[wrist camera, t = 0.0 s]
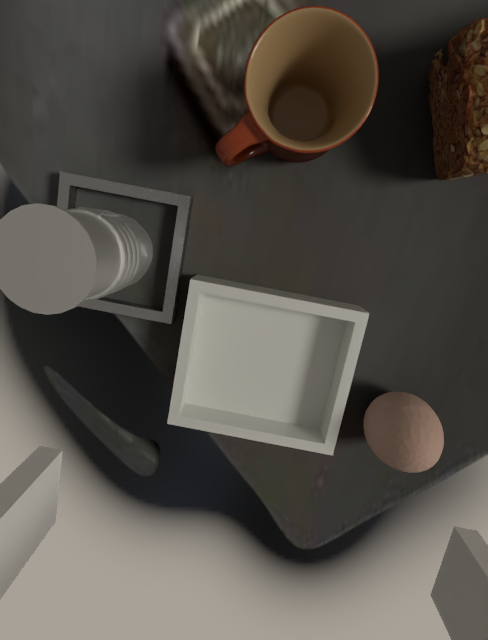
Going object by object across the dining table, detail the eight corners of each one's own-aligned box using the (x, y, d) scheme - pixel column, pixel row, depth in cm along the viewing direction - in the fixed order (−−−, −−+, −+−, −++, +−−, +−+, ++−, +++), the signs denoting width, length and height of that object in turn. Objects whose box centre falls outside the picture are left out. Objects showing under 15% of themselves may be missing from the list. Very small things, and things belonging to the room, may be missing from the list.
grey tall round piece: (165, 224, 39) (108, 219, 25) (148, 293, 41) (85, 328, 26) (95, 203, 39) (-4, 186, 24) (81, 274, 41) (-21, 298, 26)
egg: (433, 417, 42) (478, 467, 33) (377, 451, 43) (407, 507, 34) (398, 366, 41) (436, 404, 32) (342, 402, 42) (364, 448, 33)
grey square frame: (67, 173, 39) (60, 171, 37) (193, 197, 39) (190, 196, 37) (56, 298, 41) (48, 300, 40) (174, 320, 41) (171, 324, 40)
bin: (197, 274, 40) (190, 279, 36) (358, 305, 40) (369, 313, 36) (175, 406, 43) (167, 423, 39) (326, 435, 43) (332, 455, 39)
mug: (313, 46, 36) (334, -27, 26) (365, 136, 37) (403, 100, 27) (200, 130, 37) (177, 92, 27) (253, 212, 39) (250, 206, 29)
